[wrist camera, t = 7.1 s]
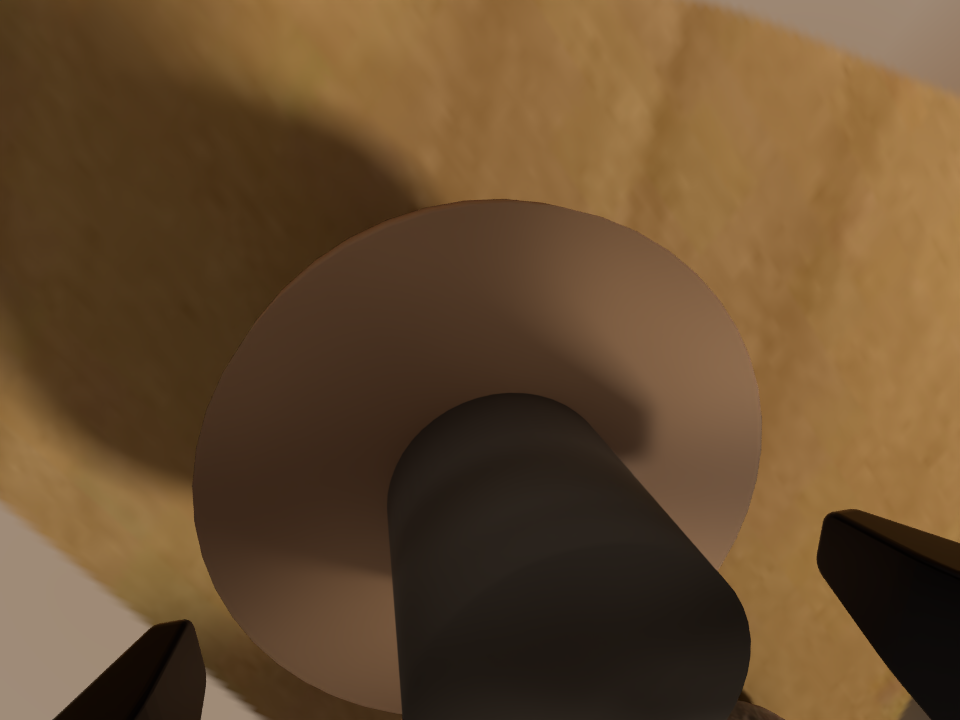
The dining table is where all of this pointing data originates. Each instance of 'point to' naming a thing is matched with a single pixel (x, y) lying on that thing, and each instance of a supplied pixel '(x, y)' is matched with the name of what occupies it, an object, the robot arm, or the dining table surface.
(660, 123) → the dining table surface
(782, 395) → the dining table surface
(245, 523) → the lid
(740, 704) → the candle
